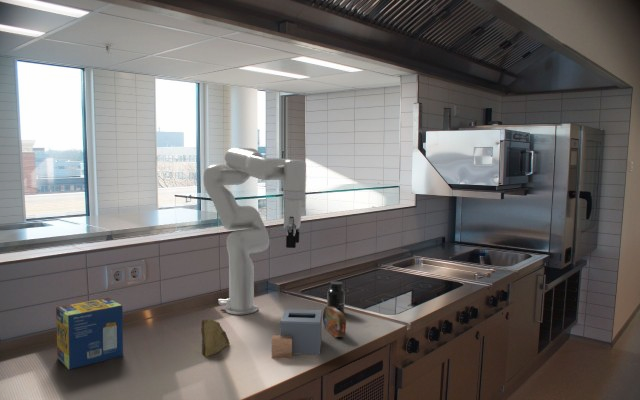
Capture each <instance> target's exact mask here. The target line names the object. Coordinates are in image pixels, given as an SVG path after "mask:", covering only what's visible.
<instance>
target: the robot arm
mask: <svg viewBox="0 0 640 400" xmlns="http://www.w3.org/2000/svg"><path fill="white" fill-rule="evenodd" d="M224 163H225V164H224ZM224 163H221V164H220V163H218V164H212V165H209V166H207V167H205V170H204V172H203V186H204V189H205V191H206V193H207V195H208V196H209V198H210V199H211V202H212V203H213V205H214V207H215V210H216V212H217V216H218V219H219V220H220V222H221V225H222V226H223V228H224V229H225V230H227V231H231V232H230V233H229V235H227V238H226V241H225V242H226V250H227V253H228V254H227V255H228V276H229V277H228V283H229V284H228V298H226V299H225V298H218V304H219V305H220V306H225V307H224V311H225V312H226V313H227V314H231V315H239V316H241V315H242V316H243V315H249V314H253V313H256V312H257V311H258V310H259V309H258V305H257V304H255V303H254V302H255V301H254V299H255V298H254V297H255V291H254V289H255V284H254V283H255V282H254V281H255V268H254V267H255V266H254V261H253V260H252V259H251V257H250V254H255V253H256V254H257V253H261V252H264V251H266V250H267V249H268V248H269V246H270V235H269V233H268V230H267V228H266V226H265V224H264V221H263V219H262V216H261V214H260V213H259V211H258V210H257V208H255V207H254V206H251V205H239V204H238V203H237V199H235V196H234V195H233V193H232V192H231V191H230V190H229V189H228V188H226V187H225V186H239V185H243V184H245V183H246V182H247V181H248V180H249V179H250V177H251V178H255V179H259V180H264V181H275V180H276V181H277V180H278V181H282V180H283V187H282V188H283V189H282V190H283V194H282V200H283V201H285V203H284V214H283V215H284V216H283V217H284V218H283V229H284V230H286V229H287V230H286V237H285V238H286V239H285V241H286V243H285V247H286V248H287V249H289V248H290V249H296V247H297V244H298V243H300V227H301V223H302V203H303V201H306V177H307V175H306V171H307V164H306V161H304V160H303V159H291V158H276V157H275V158H274V157H269V158H268V157H263V154H261V153H260V152H259V151H258V150H257V149H255V148H252V147H233V148H230V149H228V150H227V151H226V152H225V154H224Z"/></svg>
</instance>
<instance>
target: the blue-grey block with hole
mask: <svg viewBox="0 0 640 400" xmlns="http://www.w3.org/2000/svg"><path fill="white" fill-rule="evenodd" d="M322 321H323V310H322V309H291V308H290V309H289V308H285V309H284V311H283V314H282V316H281V319H280V323H279V324H280V325H279V336H293V354H295V355H320V352H321V345H322V334H323V333H322V332H323V331H322V328H323V327H322V326H323V325H322V324H323V323H322Z"/></svg>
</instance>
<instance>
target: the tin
mask: <svg viewBox="0 0 640 400" xmlns="http://www.w3.org/2000/svg"><path fill="white" fill-rule="evenodd" d="M322 321H323V323H322V324H323V327H324V329H325V330H326V332H328V334H330V335H332V337H333V338H342V337H344V336H345V334H346V328H347V326H346V325H347V319H346V316H345V313H344V314H343V313H342V312H340V311H339V310H338V309H336V308H335V307H328V306H327V305H326V306H325V307H324V309H323V311H322Z"/></svg>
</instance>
